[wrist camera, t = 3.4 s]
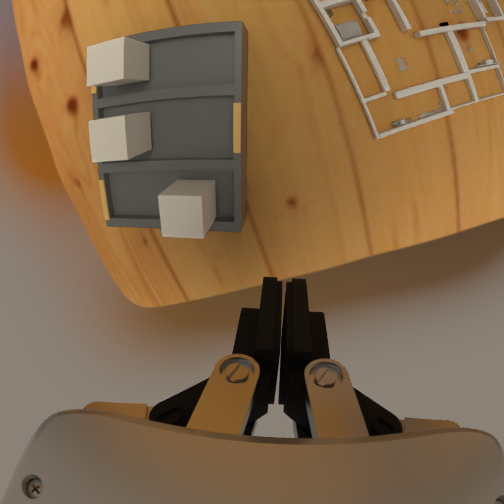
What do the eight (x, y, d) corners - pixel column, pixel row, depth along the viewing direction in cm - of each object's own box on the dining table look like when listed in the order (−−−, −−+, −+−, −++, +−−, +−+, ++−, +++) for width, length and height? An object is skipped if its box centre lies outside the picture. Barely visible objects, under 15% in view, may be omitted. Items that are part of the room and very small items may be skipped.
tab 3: (215, 179, 22) (201, 196, 19) (216, 216, 24) (203, 238, 20) (177, 179, 22) (157, 195, 19) (180, 215, 24) (162, 236, 20)
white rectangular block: (149, 44, 17) (124, 36, 14) (149, 80, 19) (123, 78, 15) (115, 51, 18) (87, 47, 14) (115, 85, 19) (86, 86, 16)
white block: (150, 111, 20) (124, 115, 16) (151, 149, 21) (127, 159, 18) (116, 115, 20) (88, 121, 17) (119, 151, 22) (92, 162, 18)
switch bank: (248, 31, 19) (241, 20, 16) (246, 216, 26) (240, 233, 23) (113, 48, 20) (91, 45, 17) (123, 212, 27) (106, 227, 24)
